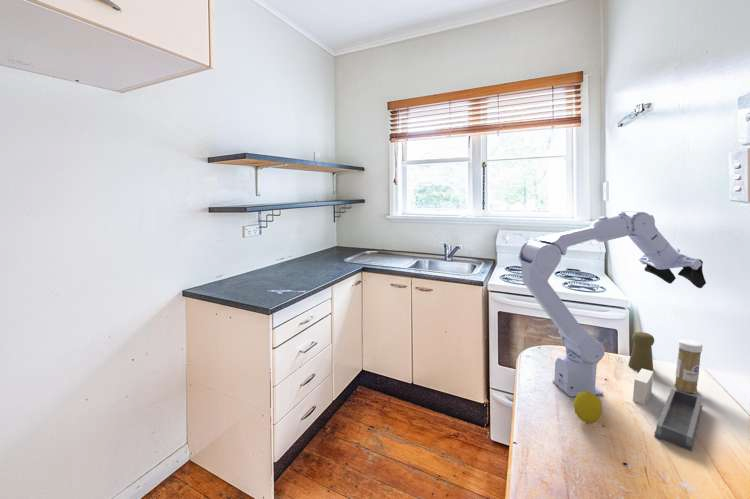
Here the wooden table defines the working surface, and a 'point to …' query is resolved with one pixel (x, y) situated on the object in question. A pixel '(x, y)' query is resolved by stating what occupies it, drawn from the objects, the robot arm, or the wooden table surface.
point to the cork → (641, 352)
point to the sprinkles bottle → (688, 365)
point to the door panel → (643, 386)
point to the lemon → (588, 407)
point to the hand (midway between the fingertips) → (686, 283)
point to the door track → (679, 419)
